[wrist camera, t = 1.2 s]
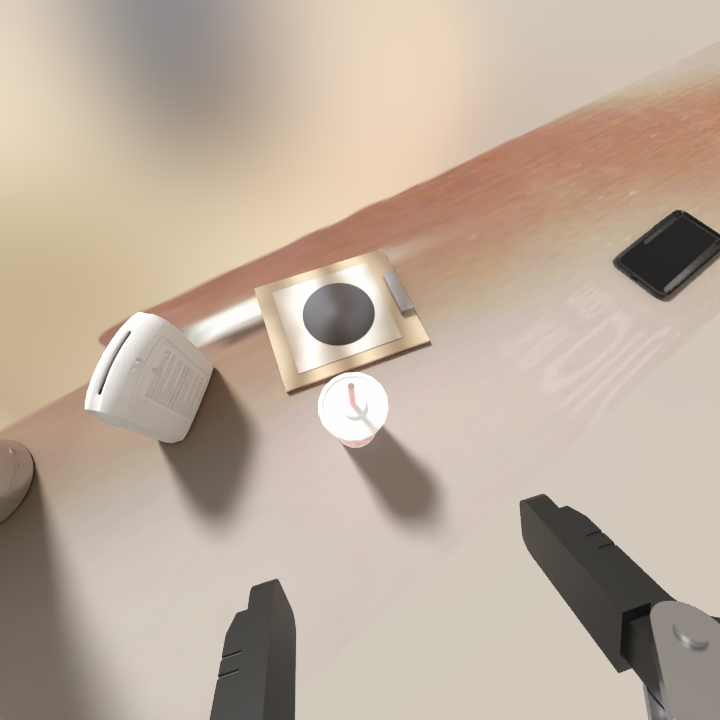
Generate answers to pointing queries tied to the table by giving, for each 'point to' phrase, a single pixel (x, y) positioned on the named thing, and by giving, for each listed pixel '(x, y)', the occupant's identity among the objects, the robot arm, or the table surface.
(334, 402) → the beverage cup
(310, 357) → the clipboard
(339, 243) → the table surface
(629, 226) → the table surface
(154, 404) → the photo printer
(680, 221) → the phone
